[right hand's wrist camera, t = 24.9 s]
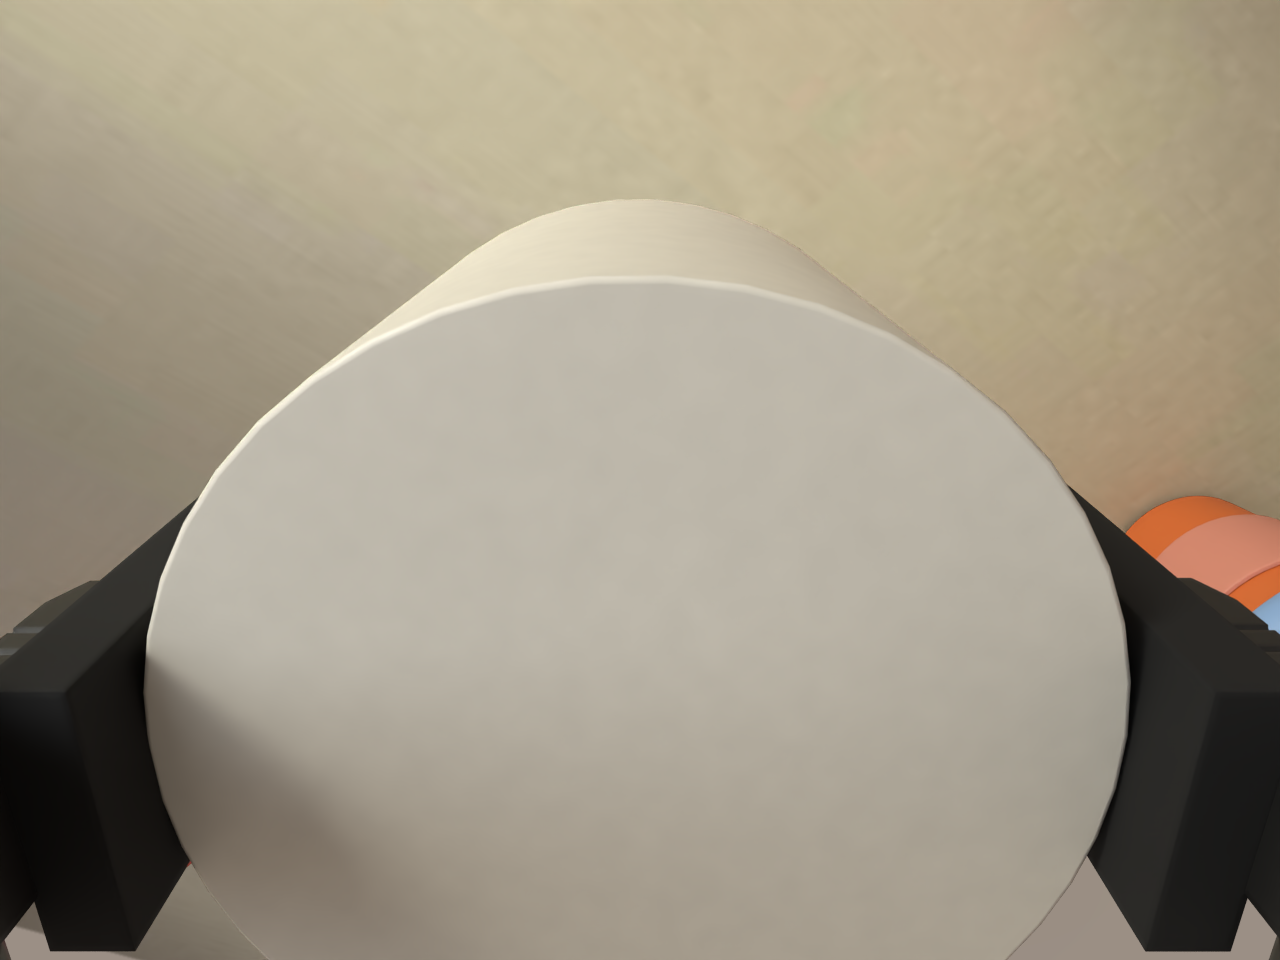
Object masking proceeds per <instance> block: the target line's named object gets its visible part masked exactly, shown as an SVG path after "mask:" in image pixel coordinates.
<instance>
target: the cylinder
mask: <svg viewBox="0 0 1280 960" xmlns="http://www.w3.org/2000/svg"><path fill="white" fill-rule="evenodd" d="M1130 687H1131V679H1130V669H1129V659H1128V649H1127V639H1126V629H1125V622H1124V618H1123V614H1122V610H1121V607H1120V603H1119V599H1118V596H1117V592H1116V588H1115V584H1114V581H1113V577H1112V573H1111V569H1110V566H1109V564H1108V562H1107V560H1106V558H1105V555H1104V553H1103V551H1102V549H1101V546H1100V544H1099V542H1098V540H1097V538H1096V535H1095V533H1094V531H1093V529H1092V527H1091V524H1090V522H1089V520H1088V518H1087V516H1086V513H1085V512H1084V510H1083V509H1082V507H1081V506H1080V504H1079V503H1078V501H1077V500H1076V498H1075V496H1074V495H1073V493H1072V492H1071V490H1070V489H1069V487H1068V486H1067V484H1066V483H1065V481H1064V480H1063V478H1062V477H1061V475H1060V474H1059V472H1058V471H1057V469H1056V468H1055V466H1054V465H1053V463H1052V462H1051V460H1050V459H1049V458H1048V457H1047V456H1046V455H1045V454H1044V453H1043V452H1042V450H1041V449H1040V448H1039V447H1038V446H1037V445H1036V444H1035V443H1034V442H1033V441H1032V440H1031V438H1030V437H1029V436H1028V435H1027V434H1026V433H1025V432H1024V431H1023V430H1022V429H1021V428H1020V426H1019V425H1018V424H1017V423H1016V422H1015V421H1014V420H1013V419H1012V418H1011V417H1010V416H1009V414H1008V413H1007V412H1006V411H1005V410H1003V409H1002V408H1001V407H1000V406H998V405H997V404H996V403H995V402H993V401H992V400H991V399H990V398H988V397H987V396H986V395H985V394H983V393H982V392H981V391H980V390H979V389H977V388H976V387H975V386H974V385H972V384H971V383H970V382H969V381H967V380H966V379H965V378H964V377H962V376H961V375H960V374H959V373H957V372H956V371H955V370H954V369H952V368H951V367H950V366H949V365H947V364H946V363H945V362H944V361H942V360H941V359H940V358H938V357H937V356H936V355H935V354H933V353H932V352H931V351H929V350H928V349H927V348H926V347H924V346H923V345H922V344H921V343H919V342H918V341H917V340H915V339H914V338H913V337H912V336H910V335H909V334H908V333H907V332H905V331H904V330H903V329H901V328H900V327H899V326H898V325H896V324H895V323H894V322H892V321H891V320H890V319H889V318H887V317H886V316H885V315H884V314H882V313H881V312H880V311H878V310H877V309H876V308H875V307H873V306H872V305H871V304H870V303H868V302H867V301H866V300H864V299H863V298H862V297H861V296H859V295H858V294H857V293H855V292H854V291H853V290H852V289H850V288H849V287H848V286H847V285H845V284H844V283H843V282H841V281H840V280H839V279H838V278H836V277H835V276H834V275H832V274H831V273H830V272H829V271H827V270H826V269H825V268H824V267H822V266H821V265H820V264H818V263H817V262H816V261H815V260H813V259H812V258H811V257H810V256H808V255H807V254H806V253H804V252H803V251H802V250H801V249H799V248H797V247H796V246H794V245H792V244H791V243H789V242H787V241H786V240H784V239H782V238H781V237H779V236H777V235H776V234H774V233H772V232H771V231H769V230H767V229H765V228H763V227H760V226H758V225H755V224H753V223H751V222H748V221H746V220H744V219H741V218H739V217H736V216H734V215H732V214H728V213H725V212H721V211H717V210H713V209H710V208H706V207H702V206H698V205H695V204H688V203H680V202H672V201H664V200H656V199H638V200H610V201H603V202H597V203H590V204H583V205H577V206H573V207H569V208H566V209H563V210H559V211H556V212H552V213H549V214H546V215H542V216H539V217H536V218H534V219H532V220H530V221H527V222H525V223H523V224H521V225H519V226H516V227H514V228H512V229H510V230H508V231H505V232H503V233H501V234H500V235H498V236H497V237H495V238H494V239H492V240H490V241H489V242H487V243H486V244H484V245H482V246H481V247H479V248H478V249H476V250H475V251H473V252H471V253H470V254H469V255H467V256H466V257H465V258H463V259H462V260H461V261H460V262H458V263H457V264H456V265H454V266H453V267H452V268H450V269H449V270H448V271H447V272H445V273H444V274H443V275H441V276H440V277H439V278H437V279H436V280H435V281H434V282H432V283H431V284H430V285H428V286H427V287H426V288H424V289H423V290H422V291H421V292H419V293H418V294H417V295H415V296H414V297H413V298H411V299H410V300H409V301H408V302H406V303H405V304H404V305H402V306H401V307H400V308H398V309H397V310H396V311H395V312H393V313H392V314H391V315H389V316H388V317H387V318H385V319H384V320H383V321H382V322H380V323H379V324H378V325H376V326H375V327H374V328H372V329H371V330H370V331H369V332H367V333H366V334H365V335H363V336H362V337H361V338H359V339H358V340H357V341H356V342H354V343H353V344H352V345H350V346H349V347H348V348H346V349H345V350H344V351H342V352H341V353H340V354H339V355H337V356H336V357H335V358H333V359H332V360H331V361H329V362H328V363H327V364H326V365H324V366H323V367H322V368H320V369H319V370H318V371H316V372H315V373H314V374H313V375H311V376H310V377H309V378H308V379H307V380H305V381H304V382H303V383H302V384H301V385H300V386H298V387H297V388H296V389H295V390H294V391H293V392H291V393H290V394H289V395H288V396H287V397H285V398H284V399H283V400H282V401H281V402H280V403H278V404H277V405H276V406H275V407H274V408H273V409H271V410H270V411H269V412H268V413H267V414H266V415H264V416H263V417H262V418H261V419H260V420H259V421H258V422H257V423H256V424H255V425H254V426H253V428H252V429H251V430H250V431H249V432H248V433H247V435H246V436H245V437H244V438H243V439H242V440H241V442H240V443H239V444H238V445H237V446H236V447H235V448H234V450H233V451H232V452H231V453H230V454H229V455H228V457H227V458H226V459H225V460H224V461H223V462H222V464H221V465H220V466H219V467H218V468H217V469H216V471H215V472H214V474H213V476H212V477H211V479H210V480H209V482H208V484H207V485H206V487H205V489H204V490H203V492H202V493H201V495H200V497H199V498H198V500H197V502H196V503H195V505H194V506H193V508H192V510H191V511H190V513H189V514H188V516H187V518H186V519H185V521H184V523H183V525H182V527H181V530H180V532H179V534H178V537H177V539H176V542H175V544H174V546H173V549H172V551H171V554H170V556H169V559H168V561H167V563H166V566H165V568H164V571H163V573H162V575H161V578H160V582H159V586H158V591H157V595H156V599H155V603H154V608H153V612H152V616H151V621H150V625H149V629H148V634H147V644H146V660H145V675H144V690H143V694H144V705H145V716H146V726H147V736H148V741H149V746H150V750H151V754H152V759H153V763H154V767H155V771H156V775H157V779H158V783H159V787H160V792H161V796H162V800H163V803H164V805H165V808H166V810H167V812H168V815H169V817H170V819H171V822H172V824H173V827H174V829H175V831H176V834H177V836H178V839H179V841H180V843H181V846H182V848H183V849H184V851H185V853H186V854H187V856H188V858H189V859H190V861H191V863H192V865H193V866H194V868H195V870H196V871H197V873H198V875H199V876H200V878H201V880H202V881H203V883H204V885H205V886H206V888H207V890H208V891H209V893H210V894H211V895H212V897H213V898H214V899H215V900H216V902H217V903H218V904H219V905H220V907H221V908H222V909H223V911H224V912H225V913H226V914H227V916H228V917H229V918H230V919H231V921H232V922H233V923H234V925H235V926H236V927H237V928H238V930H239V931H240V932H241V933H242V934H243V935H244V936H245V937H246V938H247V939H248V940H249V941H250V942H251V943H252V944H253V945H254V946H255V947H256V948H257V949H258V950H259V951H260V952H261V953H262V954H263V955H264V956H265V957H266V958H267V959H268V960H1007V959H1008V958H1009V957H1010V956H1011V955H1012V954H1013V953H1014V952H1015V951H1016V950H1017V949H1018V948H1019V947H1020V946H1021V945H1022V944H1023V943H1024V941H1025V940H1026V939H1027V938H1028V937H1029V936H1030V935H1031V934H1032V933H1033V932H1034V931H1035V930H1036V929H1037V928H1038V927H1039V926H1040V925H1041V923H1042V922H1043V921H1044V919H1045V918H1046V917H1047V915H1048V914H1049V913H1050V911H1051V910H1052V909H1053V907H1054V906H1055V905H1056V903H1057V902H1058V901H1059V899H1060V898H1061V897H1062V895H1063V894H1064V893H1065V891H1066V890H1067V889H1068V887H1069V886H1070V884H1071V883H1072V882H1073V880H1074V878H1075V876H1076V874H1077V873H1078V871H1079V869H1080V867H1081V865H1082V864H1083V862H1084V860H1085V858H1086V856H1087V855H1088V853H1089V851H1090V849H1091V847H1092V845H1093V844H1094V842H1095V840H1096V838H1097V836H1098V834H1099V831H1100V828H1101V826H1102V823H1103V821H1104V818H1105V815H1106V813H1107V810H1108V808H1109V805H1110V802H1111V800H1112V797H1113V795H1114V792H1115V789H1116V786H1117V781H1118V777H1119V772H1120V768H1121V763H1122V759H1123V754H1124V749H1125V745H1126V740H1127V736H1128V720H1129V703H1130Z"/></svg>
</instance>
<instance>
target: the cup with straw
mask: <svg viewBox="0 0 1280 960" xmlns="http://www.w3.org/2000/svg"><path fill="white" fill-rule="evenodd" d="M1126 535H1127V536H1129V537H1130V538H1131V539H1132V540H1133V541H1134V542H1136V543H1137V544H1138V545H1139V546H1140V547H1142V548H1143V549H1144V550H1145V551H1146V552H1147V553H1149V554H1150V555H1151V556H1152V557H1153V558H1155V559H1156V560H1157V561H1158V562H1159V563H1160V564H1162V565H1163V566H1164V567H1165V568H1166V569H1168V570H1169V571H1170V572H1171V573H1172V574H1173V575H1175V576H1176V577H1177V578H1193V579H1195V580H1197V581H1199V582H1201V583H1203V584H1205V585H1207V586H1210V587H1212V588H1214V589H1216V590H1218V591H1220V592H1222V593H1224V594H1226V595H1228V596H1230V597H1232V598H1234V599H1236V600H1238V601H1239V602H1240V603H1241V604H1243V605H1244V606H1245V607H1246V608H1248V609H1249V610H1250V611H1252V612H1253V613H1254V614H1255V615H1257V616H1258V617H1259V618H1260V619H1262V620H1263V621H1264V622H1265V623H1267V624H1268V629H1269V630H1275V631H1277V632H1278V633H1279V634H1280V520H1277V519H1274V518H1271V517H1267V516H1261V515H1256V514H1253V513H1251V512H1249V511H1247V510H1245V509H1243V508H1241V507H1238V506H1236V505H1234V504H1232V503H1229V502H1227V501H1224V500H1221V499H1218V498H1214V497H1207V496H1189V497H1183V498H1178V499H1175V500H1171V501H1168V502H1166V503H1164V504H1161V505H1159V506H1157V507H1155V508H1154V509H1152V510H1150V511H1149V512H1147V513H1146V514H1145V515H1143V516H1142V517H1141V518H1140V519H1138V520H1137V521H1136V522H1135V523H1134V524H1133V525H1132V526H1131V527H1130V529H1129V530H1128V531H1127V532H1126Z"/></svg>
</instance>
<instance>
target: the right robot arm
mask: <svg viewBox="0 0 1280 960" xmlns="http://www.w3.org/2000/svg"><path fill="white" fill-rule="evenodd" d="M1067 486H1068V485H1067ZM1068 487H1069V486H1068ZM1069 489H1070V490H1071V492H1072V493H1073V495H1074V496H1075V498H1076V500H1077V501H1078V503H1079V504H1080V506H1081V507H1082V509H1083V510H1084V512H1085V513H1086V516H1087V518H1088V520H1089V522H1090V524H1091V527H1092V529H1093V531H1094V533H1095V535H1096V538H1097V540H1098V542H1099V544H1100V546H1101V549H1102V551H1103V553H1104V555H1105V558H1106V560H1107V562H1108V564H1109V566H1110V569H1111V573H1112V577H1113V581H1114V584H1115V588H1116V592H1117V596H1118V599H1119V603H1120V607H1121V610H1122V614H1123V618H1124V622H1125V629H1126V639H1127V649H1128V659H1129V669H1130V679H1131V687H1130V703H1129V720H1128V736H1127V740H1126V745H1125V749H1124V754H1123V759H1122V763H1121V768H1120V772H1119V777H1118V781H1117V786H1116V789H1115V792H1114V795H1113V797H1112V800H1111V802H1110V805H1109V808H1108V810H1107V813H1106V815H1105V818H1104V821H1103V823H1102V826H1101V828H1100V831H1099V834H1098V836H1097V838H1096V840H1095V842H1094V844H1093V845H1092V847H1091V849H1090V851H1089V853H1088V855H1087V856H1088V858H1089V860H1090V861H1091V863H1092V865H1093V866H1094V868H1095V869H1096V871H1097V873H1098V874H1099V876H1100V878H1101V879H1102V881H1103V883H1104V884H1105V886H1106V887H1107V889H1108V891H1109V892H1110V894H1111V896H1112V897H1113V899H1114V901H1115V902H1116V904H1117V906H1118V907H1119V909H1120V910H1121V912H1122V914H1123V915H1124V917H1125V919H1126V920H1127V922H1128V924H1129V925H1130V927H1131V928H1132V930H1133V932H1134V933H1135V935H1136V937H1137V938H1138V940H1139V942H1140V943H1141V945H1142V947H1143V948H1144V950H1145V951H1231V948H1232V945H1233V942H1234V939H1235V936H1236V933H1237V930H1238V926H1239V923H1240V920H1241V917H1242V914H1243V911H1244V908H1245V904H1246V901H1247V898H1248V899H1249V900H1250V902H1251V903H1252V904H1253V905H1254V907H1255V908H1256V909H1257V911H1258V912H1259V913H1260V914H1261V916H1262V917H1263V918H1264V919H1265V921H1266V922H1267V923H1268V925H1269V926H1270V927H1271V928H1272V930H1273V931H1274V932H1275V933H1276V935H1277V938H1276V940H1275V943H1274V946H1273V949H1272V952H1271V955H1270V958H1269V960H1280V634H1279V633H1278V632H1277V631H1275V630H1269V629H1268V624H1267V623H1265V622H1264V621H1263V620H1262V619H1260V618H1259V617H1258V616H1257V615H1255V614H1254V613H1253V612H1252V611H1250V610H1249V609H1248V608H1246V607H1245V606H1244V605H1243V604H1241V603H1240V602H1239V601H1238V600H1236V599H1234V598H1232V597H1230V596H1228V595H1226V594H1224V593H1222V592H1220V591H1218V590H1216V589H1214V588H1212V587H1210V586H1207V585H1205V584H1203V583H1201V582H1199V581H1197V580H1195V579H1193V578H1177V577H1176V576H1175V575H1173V574H1172V573H1171V572H1170V571H1169V570H1168V569H1166V568H1165V567H1164V566H1163V565H1162V564H1160V563H1159V562H1158V561H1157V560H1156V559H1155V558H1153V557H1152V556H1151V555H1150V554H1149V553H1147V552H1146V551H1145V550H1144V549H1143V548H1142V547H1140V546H1139V545H1138V544H1137V543H1136V542H1134V541H1133V540H1132V539H1131V538H1130V537H1129V536H1127V535H1126V534H1125V533H1124V532H1123V531H1121V530H1120V529H1119V528H1118V527H1117V526H1116V525H1114V524H1113V523H1112V522H1111V521H1110V520H1108V519H1107V518H1106V517H1105V516H1104V515H1103V514H1101V513H1100V512H1099V511H1098V510H1097V509H1095V508H1094V507H1093V506H1092V505H1091V504H1090V503H1088V502H1087V501H1086V500H1085V499H1084V498H1082V497H1081V496H1080V495H1079V494H1078V493H1077V492H1075V491H1074V490H1073V489H1072V488H1071V487H1069ZM199 497H200V496H199ZM199 497H198V498H199ZM198 498H197V499H196V500H195V501H193V502H192V503H191V504H190V505H189V506H187V507H186V508H185V509H184V510H183V511H182V512H180V513H179V514H178V515H177V516H176V517H175V518H173V519H172V520H171V521H170V522H169V523H167V524H166V525H165V526H164V527H163V528H162V529H160V530H159V531H158V532H157V533H156V534H154V535H153V536H152V537H151V538H150V539H149V540H147V541H146V542H145V543H144V544H143V545H141V546H140V547H139V548H138V549H137V550H136V551H134V552H133V553H132V554H131V555H130V556H128V557H127V558H126V559H125V560H124V561H123V562H121V563H120V564H119V565H118V566H117V567H115V568H114V569H113V570H112V571H111V572H110V573H108V574H107V575H106V576H105V577H104V578H102V579H101V580H100V581H89V582H87V583H85V584H83V585H81V586H78V587H76V588H74V589H72V590H70V591H68V592H66V593H64V594H62V595H60V596H58V597H56V598H54V599H52V600H50V601H48V602H46V603H44V604H43V605H42V606H40V607H39V608H38V609H37V610H35V611H34V612H33V613H32V614H31V615H29V616H28V617H27V618H26V619H24V620H23V621H22V622H21V623H19V624H18V625H17V626H16V627H14V628H13V630H14V631H13V633H7V634H6V635H4V636H3V637H2V638H1V639H0V960H11V958H10V955H9V952H8V949H7V946H6V943H5V938H6V937H7V936H8V934H9V933H10V932H11V931H12V929H13V928H14V927H15V925H16V924H17V923H18V922H19V920H20V919H21V918H22V916H23V915H24V914H25V913H26V911H27V910H28V909H29V907H30V906H31V905H32V904H33V902H35V905H36V908H37V911H38V914H39V918H40V921H41V924H42V927H43V930H44V933H45V936H46V940H47V943H48V946H49V949H50V951H136V949H137V948H138V946H139V944H140V943H141V941H142V939H143V938H144V936H145V934H146V933H147V931H148V929H149V928H150V926H151V925H152V923H153V921H154V920H155V918H156V916H157V915H158V913H159V911H160V910H161V908H162V907H163V905H164V903H165V902H166V900H167V898H168V897H169V895H170V893H171V892H172V890H173V888H174V887H175V885H176V884H177V882H178V880H179V879H180V877H181V875H182V874H183V872H184V870H185V869H186V867H187V866H188V864H189V862H190V859H189V858H188V856H187V854H186V853H185V851H184V849H183V848H182V846H181V843H180V841H179V839H178V836H177V834H176V831H175V829H174V827H173V824H172V822H171V819H170V817H169V815H168V812H167V810H166V808H165V805H164V803H163V800H162V796H161V792H160V787H159V783H158V779H157V775H156V771H155V767H154V763H153V759H152V754H151V750H150V746H149V741H148V736H147V726H146V716H145V705H144V694H143V690H144V675H145V660H146V644H147V634H148V629H149V625H150V621H151V616H152V612H153V608H154V603H155V599H156V595H157V591H158V586H159V582H160V578H161V575H162V573H163V571H164V568H165V566H166V563H167V561H168V559H169V556H170V554H171V551H172V549H173V546H174V544H175V542H176V539H177V537H178V534H179V532H180V530H181V527H182V525H183V523H184V521H185V519H186V518H187V516H188V514H189V513H190V511H191V510H192V508H193V506H194V505H195V503H196V502H197V500H198Z"/></svg>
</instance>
